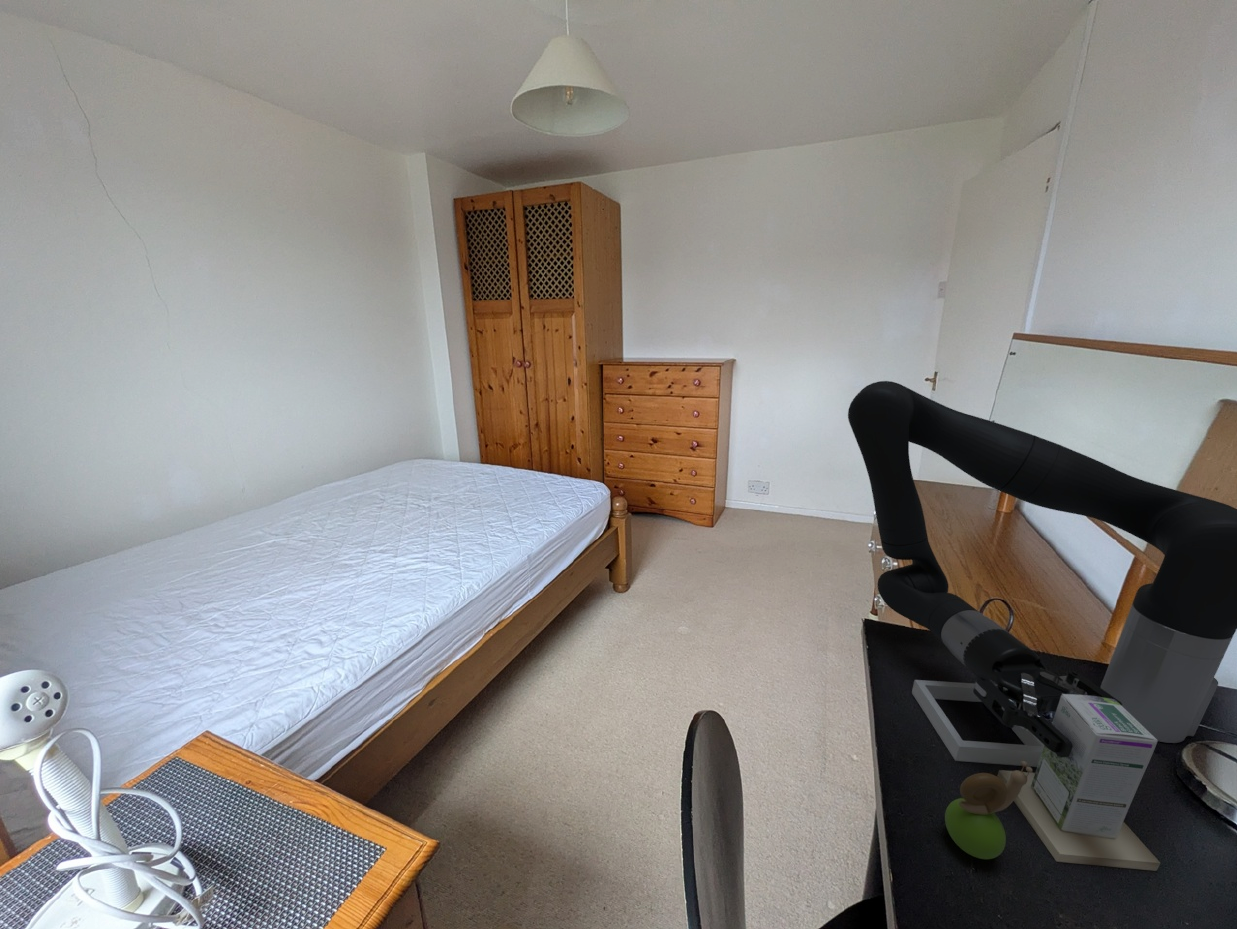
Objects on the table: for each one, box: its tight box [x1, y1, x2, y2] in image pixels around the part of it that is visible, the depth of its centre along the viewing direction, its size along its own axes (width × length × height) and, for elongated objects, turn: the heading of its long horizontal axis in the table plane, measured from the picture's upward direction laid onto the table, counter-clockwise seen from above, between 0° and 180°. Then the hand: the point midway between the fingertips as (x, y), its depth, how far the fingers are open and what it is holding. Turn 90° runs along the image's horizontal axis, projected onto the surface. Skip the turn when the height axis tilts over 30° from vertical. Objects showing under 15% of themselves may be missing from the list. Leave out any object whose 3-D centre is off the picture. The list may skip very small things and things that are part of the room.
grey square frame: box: [911, 679, 1044, 768], centre depth 69 cm, size 12×12×2 cm
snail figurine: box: [944, 761, 1033, 860], centre depth 52 cm, size 5×6×12 cm
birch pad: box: [996, 769, 1161, 872], centre depth 57 cm, size 10×10×1 cm
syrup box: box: [1031, 693, 1159, 839], centre depth 54 cm, size 6×6×14 cm
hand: (1104, 749), depth 53 cm, fingers open, 8 cm apart
